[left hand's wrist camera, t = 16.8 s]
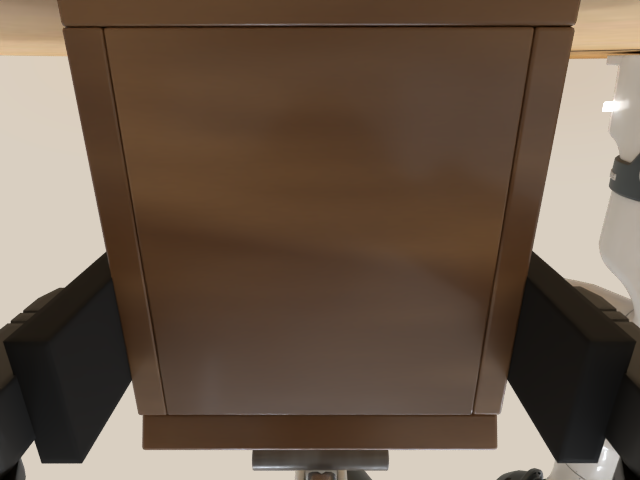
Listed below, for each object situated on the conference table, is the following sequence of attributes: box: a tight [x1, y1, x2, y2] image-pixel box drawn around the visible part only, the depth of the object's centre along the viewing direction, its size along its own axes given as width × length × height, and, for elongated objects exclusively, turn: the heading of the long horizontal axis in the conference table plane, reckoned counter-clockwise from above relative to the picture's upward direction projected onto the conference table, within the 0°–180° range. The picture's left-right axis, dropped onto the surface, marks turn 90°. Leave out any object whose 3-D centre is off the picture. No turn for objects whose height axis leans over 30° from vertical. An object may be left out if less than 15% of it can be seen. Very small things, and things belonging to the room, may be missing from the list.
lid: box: [142, 412, 497, 470], centre depth 20 cm, size 18×9×9 cm, turn 179°
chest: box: [57, 0, 580, 415], centre depth 17 cm, size 17×9×9 cm, turn 0°
